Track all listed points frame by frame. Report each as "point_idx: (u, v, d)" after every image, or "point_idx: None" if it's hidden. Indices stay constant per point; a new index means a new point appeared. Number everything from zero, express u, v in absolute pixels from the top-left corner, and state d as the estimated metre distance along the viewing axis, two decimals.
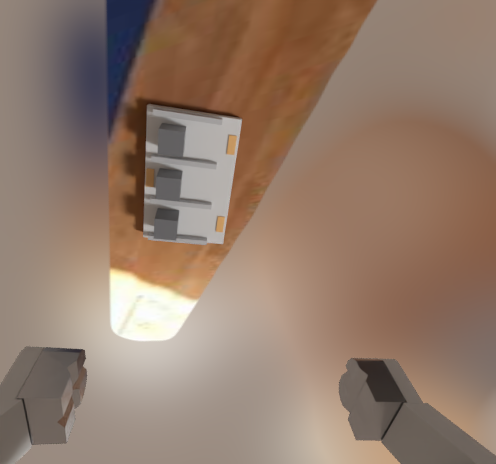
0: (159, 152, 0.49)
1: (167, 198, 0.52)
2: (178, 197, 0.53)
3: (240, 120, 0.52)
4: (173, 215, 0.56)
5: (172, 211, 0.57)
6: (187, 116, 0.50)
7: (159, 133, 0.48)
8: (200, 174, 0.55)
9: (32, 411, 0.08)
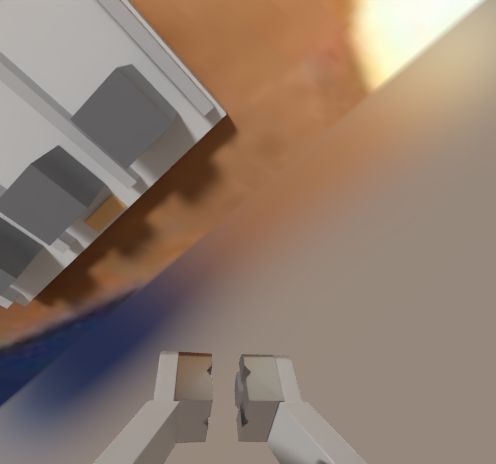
0: (10, 278, 0.21)
1: (56, 190, 0.19)
2: (25, 174, 0.18)
3: None
4: None
5: None
6: None
7: None
8: None
9: (184, 412, 0.09)
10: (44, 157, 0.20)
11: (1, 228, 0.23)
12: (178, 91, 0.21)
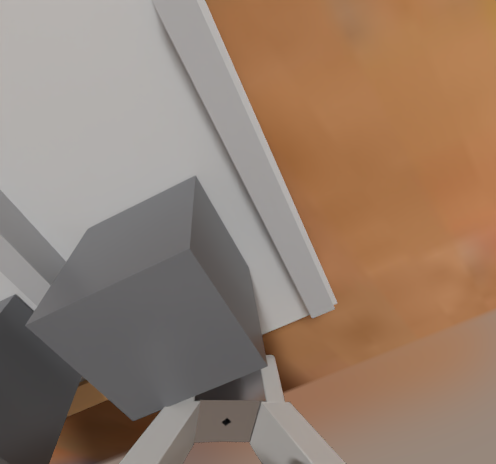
0: None
1: None
2: None
3: None
4: None
5: None
6: None
7: None
8: None
9: (204, 412, 0.09)
10: None
11: None
12: (275, 257, 0.11)
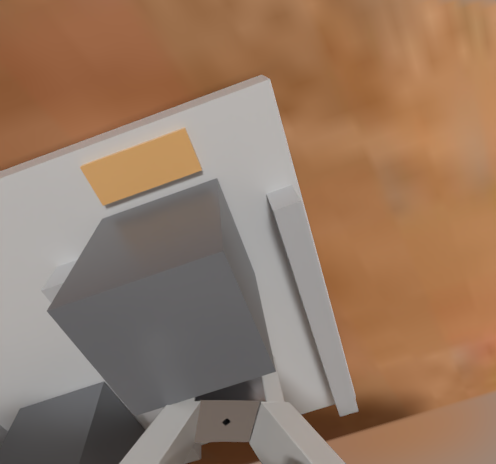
0: None
1: None
2: None
3: None
4: None
5: None
6: None
7: None
8: None
9: (204, 412, 0.09)
10: (86, 448, 0.11)
11: None
12: (315, 365, 0.14)
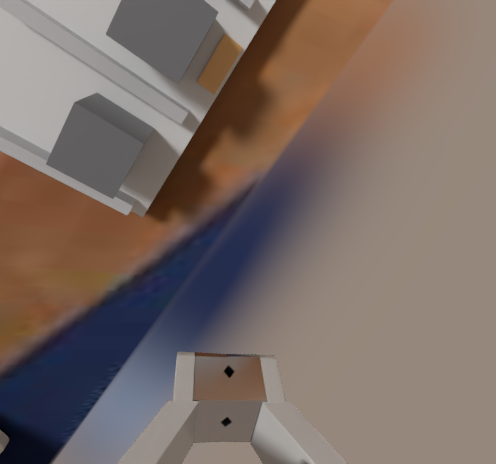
0: (136, 145, 0.17)
1: None
2: None
3: None
4: None
5: None
6: (52, 172, 0.20)
7: (115, 188, 0.18)
8: None
9: (203, 412, 0.09)
10: None
11: (108, 103, 0.19)
12: None
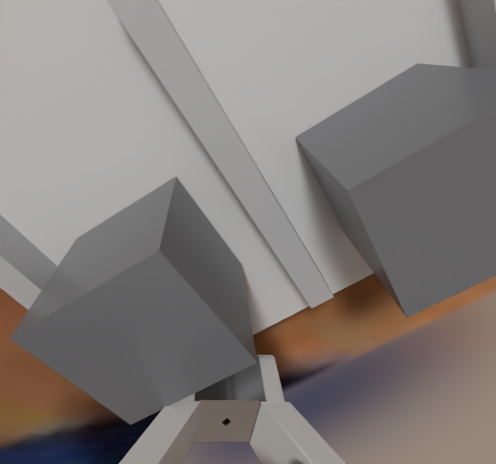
0: (241, 360, 0.08)
1: None
2: None
3: None
4: None
5: None
6: None
7: (147, 411, 0.08)
8: (253, 26, 0.08)
9: (204, 412, 0.09)
10: None
11: (193, 213, 0.09)
12: None
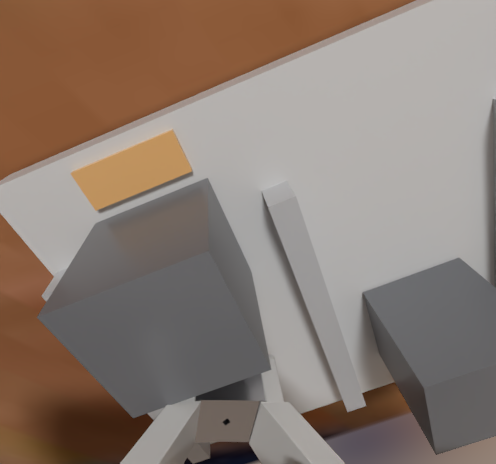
0: (256, 366, 0.08)
1: None
2: None
3: None
4: None
5: None
6: None
7: (153, 406, 0.08)
8: (354, 225, 0.11)
9: (204, 412, 0.09)
10: None
11: (221, 217, 0.09)
12: None
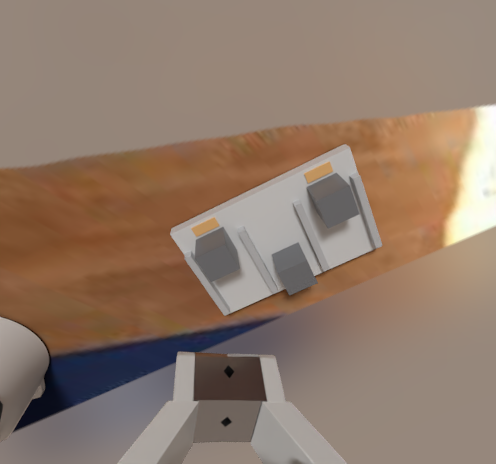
0: (236, 268, 0.37)
1: (310, 272, 0.39)
2: (302, 263, 0.38)
3: (172, 235, 0.39)
4: (314, 200, 0.37)
5: (311, 197, 0.38)
6: (208, 288, 0.42)
7: (215, 279, 0.38)
8: (264, 235, 0.40)
9: (203, 412, 0.09)
10: (303, 253, 0.39)
11: (227, 236, 0.39)
12: (366, 232, 0.42)
